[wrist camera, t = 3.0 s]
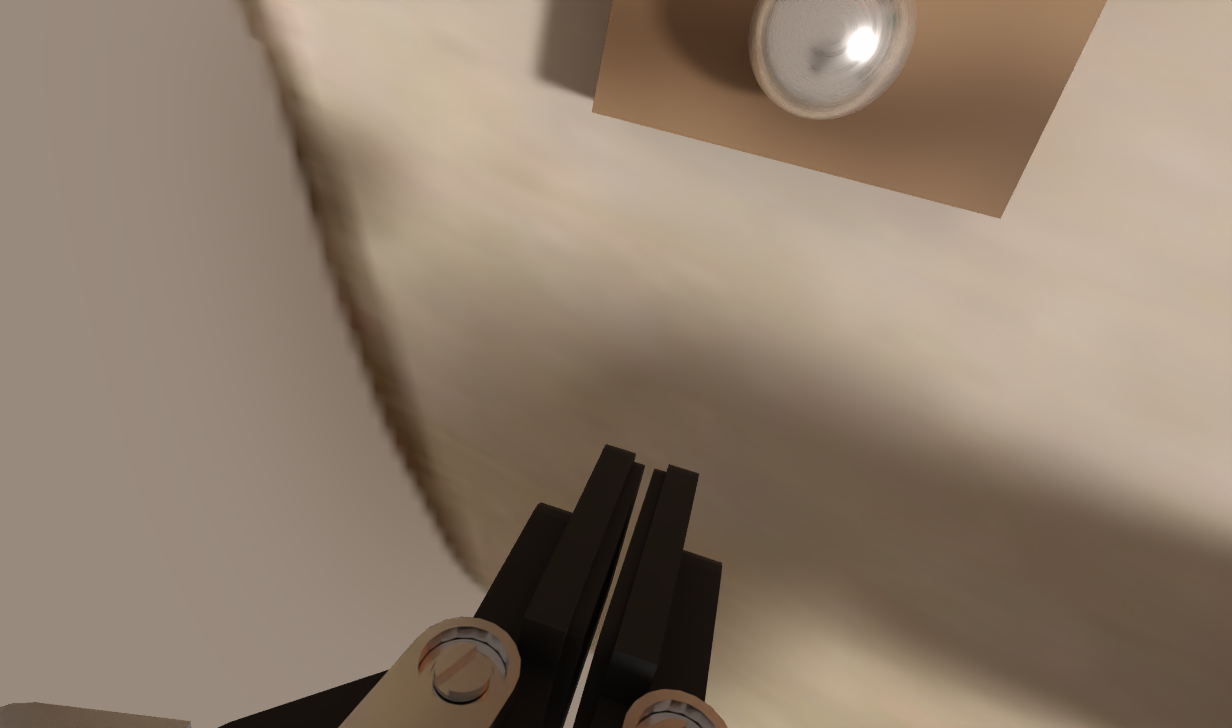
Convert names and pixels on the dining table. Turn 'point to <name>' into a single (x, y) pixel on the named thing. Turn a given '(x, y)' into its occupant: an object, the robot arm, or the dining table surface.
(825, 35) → the ball
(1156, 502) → the dining table surface
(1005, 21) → the board
